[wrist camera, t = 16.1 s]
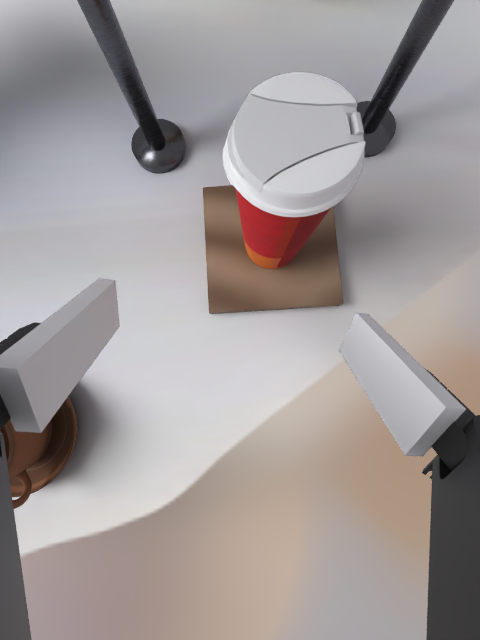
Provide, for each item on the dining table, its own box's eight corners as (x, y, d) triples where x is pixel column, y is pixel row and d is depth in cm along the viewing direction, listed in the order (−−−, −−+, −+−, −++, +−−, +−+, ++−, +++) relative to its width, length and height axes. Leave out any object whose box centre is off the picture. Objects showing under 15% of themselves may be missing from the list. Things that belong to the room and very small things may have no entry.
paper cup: (301, 205, 26) (360, 51, 13) (313, 273, 26) (390, 190, 12) (229, 216, 27) (210, 75, 13) (239, 284, 26) (230, 214, 12)
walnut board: (204, 194, 28) (202, 187, 27) (326, 184, 28) (329, 177, 27) (210, 313, 27) (209, 312, 26) (338, 305, 26) (343, 303, 25)
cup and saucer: (109, 425, 26) (67, 450, 20) (27, 511, 25) (-42, 564, 19) (37, 348, 27) (-24, 348, 21) (-44, 428, 27) (-131, 453, 20)
